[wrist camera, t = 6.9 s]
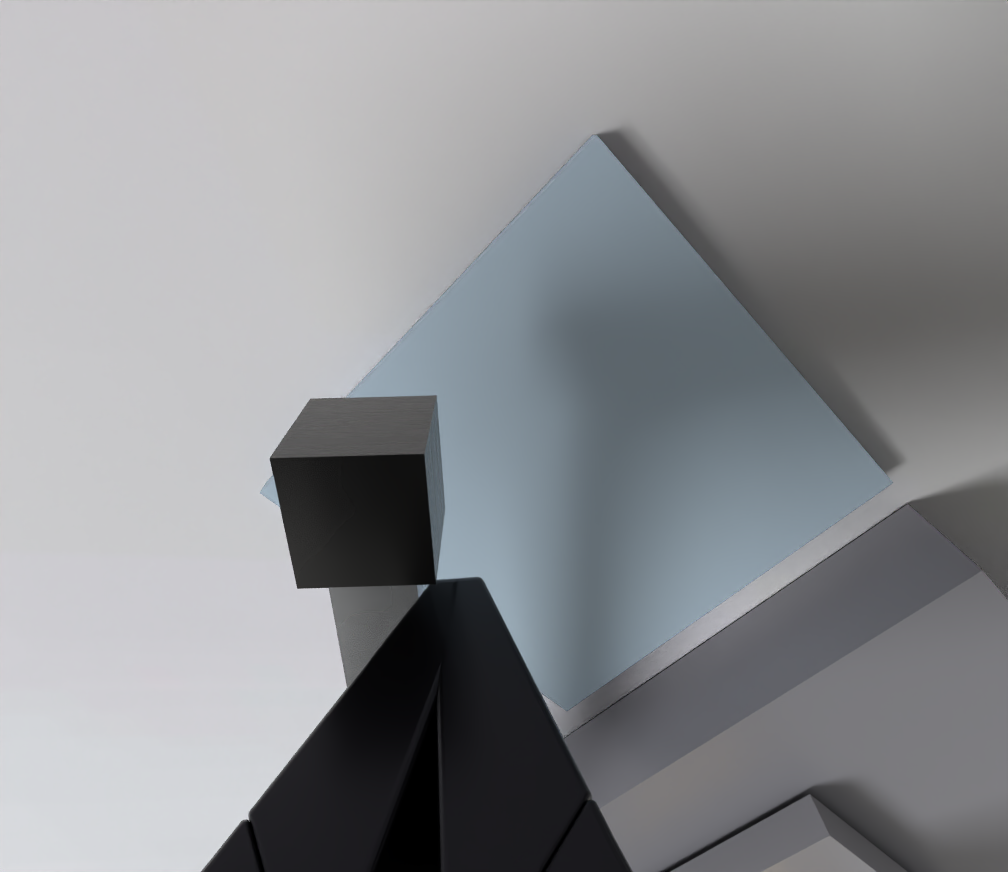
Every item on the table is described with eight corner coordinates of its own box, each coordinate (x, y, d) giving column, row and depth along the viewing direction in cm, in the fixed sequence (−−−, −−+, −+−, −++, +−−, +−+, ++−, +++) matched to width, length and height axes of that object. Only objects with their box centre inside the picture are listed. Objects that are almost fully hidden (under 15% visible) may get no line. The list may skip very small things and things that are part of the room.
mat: (564, 696, 14) (566, 711, 14) (267, 481, 11) (259, 493, 11) (880, 472, 11) (893, 482, 11) (592, 134, 9) (596, 134, 9)
